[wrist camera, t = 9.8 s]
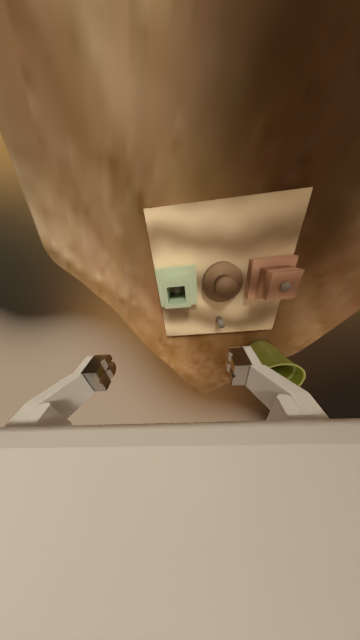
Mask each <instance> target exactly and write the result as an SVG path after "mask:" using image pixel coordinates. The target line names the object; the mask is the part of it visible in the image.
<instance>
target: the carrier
mask: <svg viewBox="0 0 360 640" xmlns="http://www.w3.org/2000/svg"><path fill="white" fill-rule="evenodd" d="M312 189H313V187H308V188H300V189H293V190H285V191H277V192H270V193H262V194H255V195H247V196H239V197H232V198H224V199H216V200H209V201H201V202H193V203H186V204H178V205H170V206H163V207H155V208H148V209H144V214H145V220H146V225H147V231H148V236H149V241H150V247H151V252H152V258H153V263H154V269H156V268H161V267H171V266H181V265H191V264H195V265H196V280H197V304H193V305H191V307H184V308H171V309H165V307H162V312H163V318H164V323H165V328H166V334H167V336H179V335H194V334H209V333H224V332H238V331H253V330H268V329H272V328H273V324H274V321H275V317H276V314H277V310H278V307H279V303H280V300H283V299H295V297H296V294H297V291H298V288H299V285H300V282H301V279H302V276H303V273H304V271H305V270H304V269H300V268H296V264H297V261H298V257H299V256H298V255H294V252H295V248H296V245H297V241H298V238H299V234H300V231H301V227H302V224H303V220H304V217H305V213H306V210H307V207H308V203H309V200H310V196H311V193H312ZM180 292H185V286H179V287H171V293H180Z"/></svg>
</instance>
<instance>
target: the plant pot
mask: <svg viewBox="0 0 360 640" xmlns="http://www.w3.org/2000/svg"><path fill="white" fill-rule="evenodd" d="M249 346H250V347H251V348H252V349H253V351H254V352H255V354H256V356H257V357H258V359H259V361H260V362H261V364H262V365H266V366H267V367H269V368H270V369H272V370H274V371H275V372H277V373H278V374H280V375H281V376H283V377H285V378H286V379H288V380H289V381H291V382H293V383H294V384H296V385H297V386H300V385H301V384H302V383H303V382H304V380H305V377H306V374H305V371H304V370H303V369H302V368H301V367H300V366H298V365H296V364H294V363H293V362H291V361H289V360H288V359H287V358H286V357H285V356H284V355H282V354H281V353H280V352H279V351H278V350H277V349H276V348H275V347H274V346H273V345H272V344H270V343H269V342H267V341H264V340H259V341H255V342H253V343H251V344H250V345H249Z"/></svg>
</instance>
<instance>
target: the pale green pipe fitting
mask: <svg viewBox="0 0 360 640" xmlns="http://www.w3.org/2000/svg"><path fill="white" fill-rule="evenodd" d="M155 274H156V279H157V285H158V290H159V296H160V301H161V307H165V309H171V308H184V307H191V305H193V304H197V280H196V265H195V264H191V265H181V266H171V267H161V268H156V269H155ZM179 286H185V292H180V293H171V287H179Z"/></svg>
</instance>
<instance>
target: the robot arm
mask: <svg viewBox="0 0 360 640" xmlns="http://www.w3.org/2000/svg"><path fill="white" fill-rule="evenodd" d="M226 354H227V355H226V356H225V365H226V369H227V371H228V372H229V378H230V381H231V384H232V385H246V387H247V388H248V389H250V391H251V392H252V393H253V394H254V395H255V396H256V397H257V398H258V399H259V400H260V401H261V402H262V403H263V404H264V405H266V407H268V409H269V410H270V413H269V415H268V417H267V419H266V421H241V422H239V421H238V422H198V423H197V422H195V423H153V424H115V425H114V424H112V425H72V424H71V422H70V421H69V420H68V419H67V418H68V417H69V416H70V415H71V414H73V413H74V411H76V410H77V409H78V408H79V407H80V406H81V405H82V404H83V403H84V402H85V401H86V400H87V399H88V398H89V397H90V396H91V395H92V394H93V393H94V391H106V390H107V389H108V387H109V385H110V383H111V380H110V379H111V378H112V377H113V376H114V375H115V372H116V365H115V363H114V362H113V361H111V360H112V357H111V355H89V356H87V357H86V358H85V359H84V360H83V362H82V363H81V364H80V366H79V367H78V368H77V369H76V370H75V372H74V373H73V374H72V375H69V376H67V377H65V378H64V379H62V380H61V381H60V382H58V383H56V384H55V385H53V386H51V387H50V388H48V389H47V390H46V391H44V392H42V393H41V394H39V395H38V396H36V397H34V398H33V399H31V400H30V401H28V402H27V403H26V404H25V405H24V406H23V407H22V408H21V409H20V410H19V411H18V412H17V413H16V414H15V415H14V417H13V418H12V419H11V420H10V421H9V422H8V423H7V424H6V425H5V426H4V427H0V640H360V418H359V419H329V418H328V416H327V415H326V414H325V413H324V411H323V410H322V409H321V408H320V406H319V405H318V404H317V403H316V401H315V400H314V399H313V398H312V396H311V395H310V394H309V393H308V392H307V391H305V390H304V389H302V388H300V387H299V386H297V385H296V384H294V383H293V382H291V381H289V380H288V379H286V378H285V377H283V376H281V375H280V374H278V373H277V372H275V371H274V370H272V369H270V368H269V367H267V366H266V365H262V364H261V362H260V361H259V359H258V357H257V356H256V354H255V352H254V351H253V349H252V348H251V347H250V346H242V347H228V348H226Z"/></svg>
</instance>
